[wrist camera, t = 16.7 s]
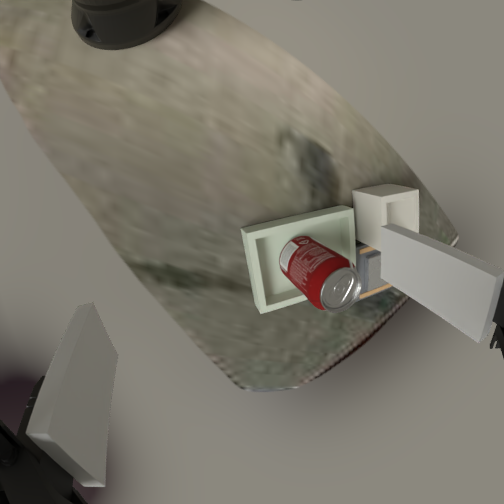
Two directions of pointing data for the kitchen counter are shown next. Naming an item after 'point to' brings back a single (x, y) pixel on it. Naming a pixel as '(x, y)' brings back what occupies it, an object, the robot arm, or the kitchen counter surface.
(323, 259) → the soda can
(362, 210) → the cup
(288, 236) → the trough
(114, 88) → the kitchen counter surface
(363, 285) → the checker cradle
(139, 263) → the kitchen counter surface
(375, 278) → the platform
